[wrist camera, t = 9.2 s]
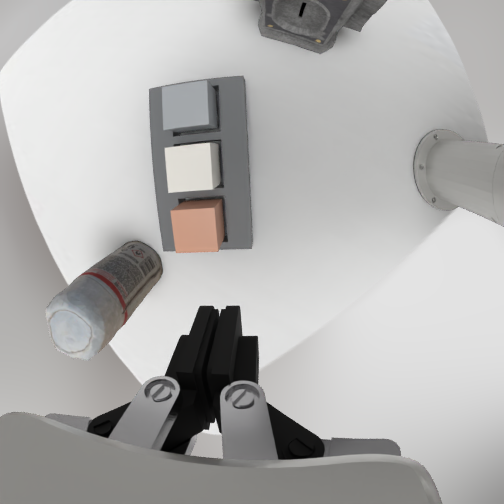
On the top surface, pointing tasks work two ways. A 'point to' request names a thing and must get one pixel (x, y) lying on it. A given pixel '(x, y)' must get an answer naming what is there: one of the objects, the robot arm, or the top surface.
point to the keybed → (232, 158)
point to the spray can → (102, 300)
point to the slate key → (189, 107)
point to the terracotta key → (198, 225)
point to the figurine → (313, 20)
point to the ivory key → (193, 167)
